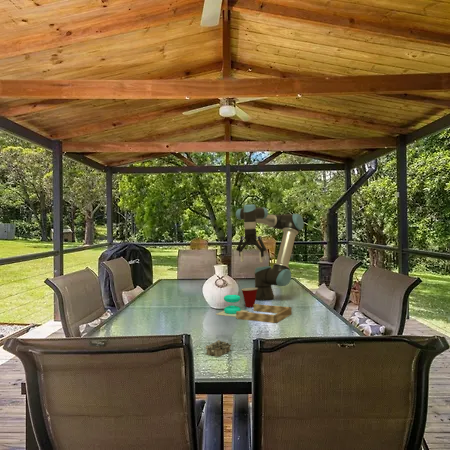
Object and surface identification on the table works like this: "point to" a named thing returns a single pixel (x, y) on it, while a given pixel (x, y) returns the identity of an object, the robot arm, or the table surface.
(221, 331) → the table surface
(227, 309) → the donuts
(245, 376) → the table surface
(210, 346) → the rough brown lump
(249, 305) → the plastic cup
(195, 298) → the table surface
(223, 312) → the beige mat
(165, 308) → the table surface
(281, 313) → the wooden u-shaped frame
